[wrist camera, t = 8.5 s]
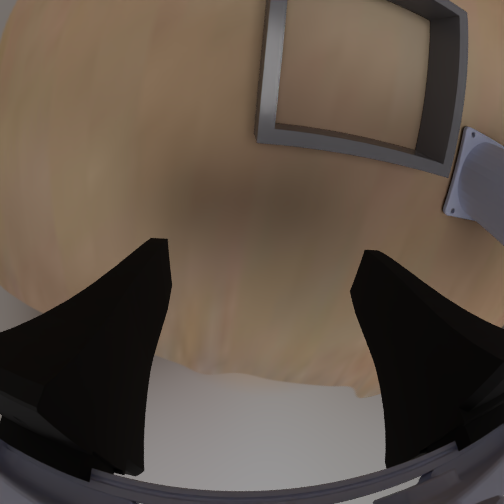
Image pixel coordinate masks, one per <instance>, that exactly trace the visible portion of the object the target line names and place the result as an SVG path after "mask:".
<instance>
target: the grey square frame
mask: <svg viewBox="0 0 504 504" xmlns="http://www.w3.org/2000/svg"><path fill="white" fill-rule="evenodd" d="M388 1H390V2H392V3H395V4H397V5H399V6H402V7H404V8H406V9H408V10H410V11H412V12H414V13H417V14H419V15H421V16H422V17H424V18H426V19H428V20H430V49H429V64H428V75H427V84H426V93H425V100H424V107H423V113H422V119H421V125H420V130H419V135H418V140H417V145H416V150H413V149H410V148H406V147H402V146H399V145H395V144H391V143H387V142H383V141H379V140H375V139H371V138H366V137H362V136H357V135H352V134H347V133H342V132H337V131H331V130H325V129H319V128H312V127H305V126H298V125H290V124H282V123H275V119H276V110H277V100H278V91H279V81H280V71H281V61H282V51H283V41H284V30H285V20H286V9H287V0H266V10H265V20H264V30H263V40H262V50H261V60H260V71H259V81H258V92H257V103H256V114H255V125H254V135H255V139H256V142H257V143H265V144H276V145H286V146H294V147H303V148H311V149H318V150H325V151H331V152H338V153H344V154H349V155H355V156H360V157H365V158H370V159H375V160H380V161H385V162H389V163H394V164H398V165H402V166H406V167H410V168H414V169H418V170H422V171H426V172H429V173H433V174H436V175H440V176H443V177H446V178H448V177H449V174H450V170H451V166H452V162H453V158H454V154H455V149H456V145H457V140H458V135H459V130H460V124H461V118H462V112H463V105H464V98H465V89H466V78H467V64H468V18H467V12H465V11H464V10H463V9H461V8H460V7H458V6H457V5H455V4H454V3H452V2H451V1H449V0H388Z"/></svg>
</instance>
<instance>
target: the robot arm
mask: <svg viewBox="0 0 504 504" xmlns="http://www.w3.org/2000/svg"><path fill="white" fill-rule="evenodd" d="M451 210H452V211H451ZM443 212H444V213H445V214H446V215H449V216H454V217H459V218H463V219H468V220H473V221H476V222H477V223H479V224H480V225H481V226H482V227H483V228H484V229H486V230H487V231H488V232H489V233H490V234H491V235H492V236H494V237H495V238H496V239H497V240H498V241H499V242H500V243H501V244H502V245H503V246H504V146H502V145H501V144H499V143H498V142H496V141H494V140H493V139H491V138H489V137H487V136H486V135H484V134H482V133H480V132H478V131H477V130H475V129H473V128H471V127H468V126H466V127H465V128H464V130H463V136H462V141H461V145H460V150H459V154H458V158H457V163H456V167H455V170H454V174H453V178H452V181H451V185H450V188H449V192H448V195H447V198H446V201H445V204H444V207H443ZM171 288H172V280H171V271H170V261H169V250H168V239H160V238H151V239H149V240H148V241H146V242H145V243H144V244H142V245H141V246H140V247H139V248H137V249H136V250H135V251H134V252H133V253H131V254H130V255H129V256H128V257H126V258H125V259H124V260H123V261H121V262H120V263H119V264H118V265H117V266H115V267H114V268H113V269H111V270H110V271H109V272H107V273H106V274H105V275H103V276H102V277H101V278H99V279H98V280H97V281H96V282H94V283H93V284H91V285H90V286H89V287H87V288H86V289H84V290H83V291H81V292H80V293H78V294H77V295H75V296H73V297H72V298H70V299H69V300H67V301H65V302H63V303H62V304H60V305H58V306H56V307H54V308H53V309H51V310H49V311H47V312H46V313H44V314H42V315H40V316H38V317H36V318H34V319H32V320H30V321H27V322H25V323H23V324H21V325H18V326H16V327H14V328H11V329H8V330H6V331H3V332H0V414H1V415H2V418H1V421H0V504H139V503H143V504H334V503H339V502H343V501H348V500H352V499H356V498H359V497H363V496H366V495H370V494H373V493H376V492H379V491H382V490H385V489H388V488H391V487H394V486H396V485H399V484H401V483H404V482H407V481H409V480H412V479H414V478H417V477H419V476H421V475H422V476H421V477H420V479H419V482H418V483H417V484H416V485H414V486H412V487H409V488H407V489H405V490H402V491H399V492H396V493H394V494H391V495H388V496H385V497H382V498H380V499H377V500H375V501H374V502H373V504H504V496H503V495H504V329H502V328H500V327H498V326H495V325H493V324H491V323H489V322H487V321H485V320H483V319H481V318H479V317H477V316H475V315H473V314H471V313H470V312H468V311H466V310H464V309H463V308H461V307H460V306H458V305H456V304H455V303H453V302H452V301H450V300H448V299H447V298H445V297H444V296H442V295H441V294H440V293H438V292H437V291H435V290H434V289H433V288H431V287H430V286H428V285H427V284H426V283H424V282H423V281H422V280H420V279H419V278H418V277H416V276H415V275H414V274H412V273H411V272H410V271H408V270H407V269H405V268H404V267H403V266H401V265H400V264H399V263H397V262H396V261H394V260H393V259H392V258H390V257H389V256H387V255H385V254H384V253H382V252H380V251H377V250H365V251H364V254H363V257H362V260H361V263H360V266H359V268H358V271H357V274H356V277H355V279H354V282H353V285H352V287H351V290H350V293H351V298H352V302H353V306H354V310H355V314H356V316H357V319H358V321H359V324H360V327H361V329H362V332H363V334H364V337H365V339H366V342H367V345H368V347H369V350H370V353H371V355H372V358H373V361H374V364H375V367H376V371H377V376H378V380H379V385H380V390H381V396H382V403H383V409H384V419H385V431H386V432H385V435H386V436H385V438H386V453H385V464H386V468H387V469H384V470H381V471H377V472H374V473H370V474H367V475H363V476H359V477H355V478H351V479H347V480H343V481H338V482H333V483H327V484H321V485H316V486H309V487H301V488H293V489H283V490H269V491H210V490H197V489H187V488H179V487H171V486H165V485H158V484H153V483H147V482H142V481H138V480H133V479H129V478H125V477H121V476H117V475H114V473H118V474H122V475H125V474H128V475H132V476H137V475H139V474H141V473H142V472H143V471H144V427H145V412H146V401H147V392H148V384H149V377H150V371H151V366H152V361H153V357H154V354H155V350H156V347H157V343H158V340H159V336H160V333H161V330H162V326H163V323H164V320H165V316H166V313H167V310H168V305H169V300H170V294H171ZM136 502H138V503H136Z"/></svg>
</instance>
